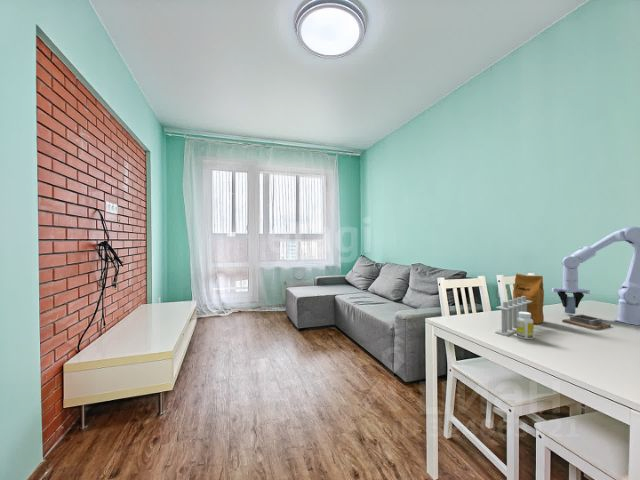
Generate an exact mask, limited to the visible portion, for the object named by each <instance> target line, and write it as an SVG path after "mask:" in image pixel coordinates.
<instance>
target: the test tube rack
mask: <svg viewBox="0 0 640 480" xmlns="http://www.w3.org/2000/svg"><path fill="white" fill-rule="evenodd" d="M531 302H533V301H529V300H526V296H522V297H517V299H513V298H512V299H508V300H507V301H505V300H504V301H502V305H498V306H495V309H498V310H500V311H501V326H500V327H501V328H500V329H498V330H496V331H495V332H494V333H495V334H497V335H501V336H504V337H509V336H510V335H513V334H515V333H516V334H517V318H518V317H519V312H527V304H528V303H531Z"/></svg>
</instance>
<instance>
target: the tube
mask: <svg viewBox="0 0 640 480" xmlns="http://www.w3.org/2000/svg"><path fill="white" fill-rule="evenodd" d="M576 309H577V308H576V298H575V297H574V296H568V295H567V300H566V307H564V313H566V314H568V315H575V314H576Z"/></svg>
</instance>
